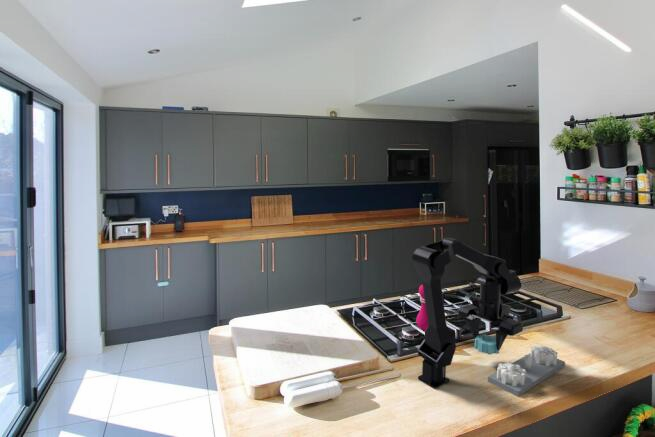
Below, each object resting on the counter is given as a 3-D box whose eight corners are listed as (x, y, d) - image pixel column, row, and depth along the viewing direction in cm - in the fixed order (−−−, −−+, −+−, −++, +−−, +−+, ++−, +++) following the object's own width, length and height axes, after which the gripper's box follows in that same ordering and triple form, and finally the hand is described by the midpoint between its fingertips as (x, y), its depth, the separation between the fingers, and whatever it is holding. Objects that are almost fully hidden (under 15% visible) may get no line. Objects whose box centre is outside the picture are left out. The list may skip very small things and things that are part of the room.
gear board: (518, 396, 107) (519, 377, 106) (487, 381, 114) (488, 363, 113) (564, 366, 122) (566, 349, 121) (535, 354, 129) (536, 338, 128)
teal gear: (490, 356, 119) (491, 347, 119) (469, 347, 125) (470, 338, 124) (504, 349, 123) (505, 340, 123) (483, 341, 129) (484, 332, 129)
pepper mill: (436, 338, 141) (438, 283, 138) (416, 336, 143) (417, 282, 139) (435, 329, 148) (437, 277, 145) (415, 327, 150) (417, 276, 146)
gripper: (534, 299, 118) (530, 349, 121) (478, 283, 133) (476, 327, 136) (513, 308, 112) (510, 360, 115) (457, 290, 127) (455, 336, 130)
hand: (487, 345), depth 124 cm, fingers closed on teal gear, 7 cm apart
